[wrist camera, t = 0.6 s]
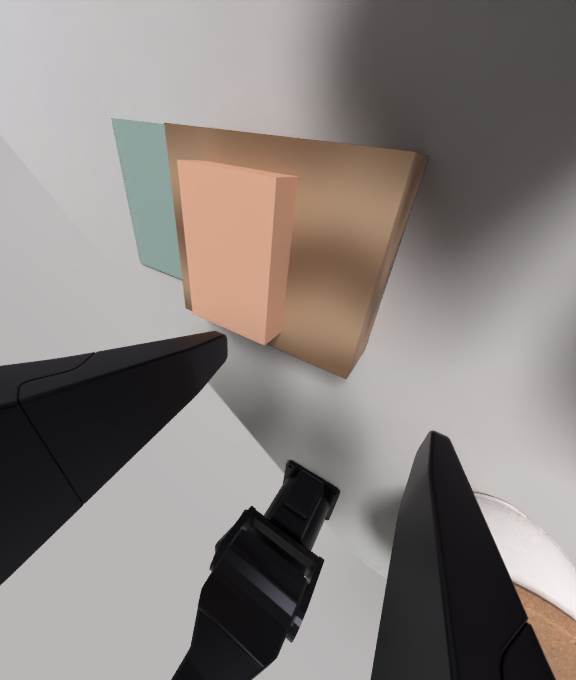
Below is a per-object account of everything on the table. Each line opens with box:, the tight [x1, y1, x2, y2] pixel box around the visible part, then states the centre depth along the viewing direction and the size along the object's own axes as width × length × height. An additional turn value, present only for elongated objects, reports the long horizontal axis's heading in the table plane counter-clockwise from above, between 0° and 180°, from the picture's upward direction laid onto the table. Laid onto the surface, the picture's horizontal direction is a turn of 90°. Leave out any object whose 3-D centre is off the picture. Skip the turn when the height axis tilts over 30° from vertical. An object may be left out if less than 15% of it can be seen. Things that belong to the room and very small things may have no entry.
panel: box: [111, 118, 182, 279], centre depth 24 cm, size 12×10×1 cm
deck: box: [164, 123, 429, 379], centre depth 18 cm, size 12×14×4 cm
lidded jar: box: [473, 492, 576, 680], centre depth 19 cm, size 11×11×9 cm
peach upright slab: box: [177, 160, 298, 346], centre depth 16 cm, size 9×6×2 cm, turn 173°
